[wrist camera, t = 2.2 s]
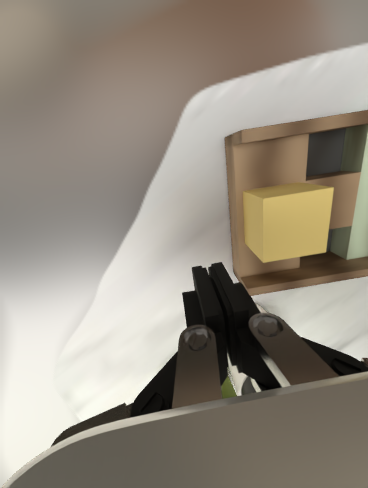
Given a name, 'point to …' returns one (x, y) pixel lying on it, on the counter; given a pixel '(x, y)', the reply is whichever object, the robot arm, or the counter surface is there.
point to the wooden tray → (312, 172)
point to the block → (287, 220)
